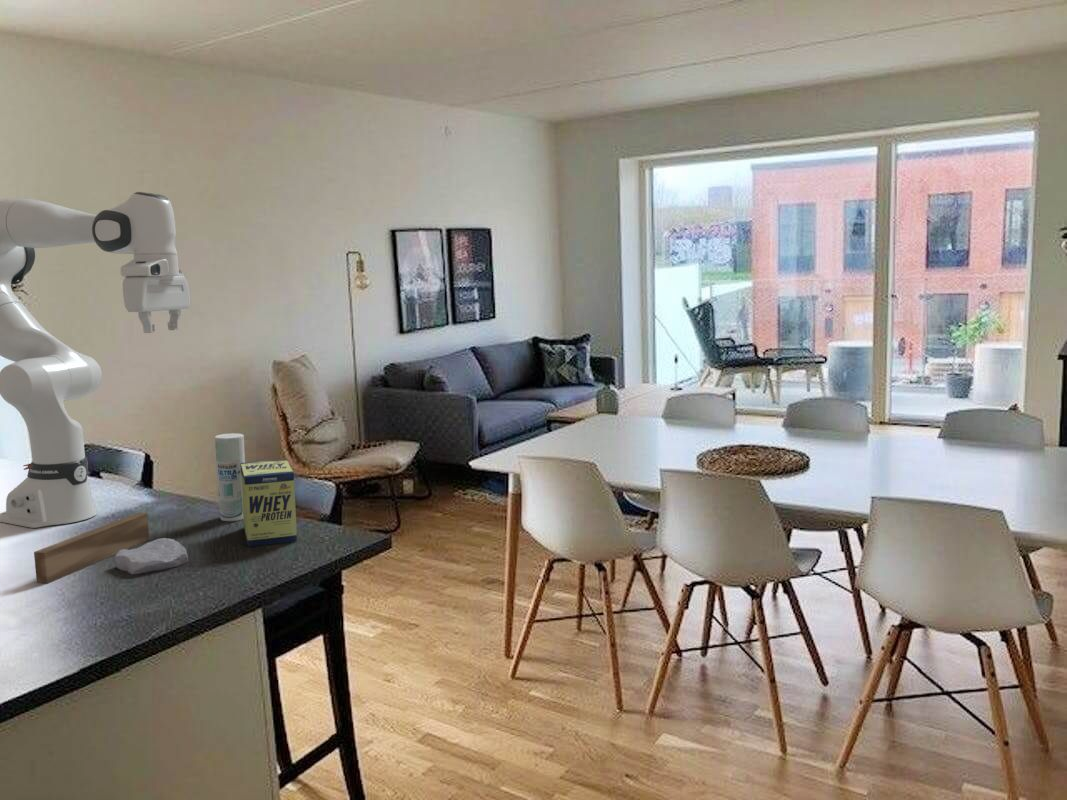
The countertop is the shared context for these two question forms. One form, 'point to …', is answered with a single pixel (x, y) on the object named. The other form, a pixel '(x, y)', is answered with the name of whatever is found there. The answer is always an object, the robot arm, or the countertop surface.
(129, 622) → the countertop surface
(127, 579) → the countertop surface
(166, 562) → the stone block
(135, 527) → the walnut board
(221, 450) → the spray can
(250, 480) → the protein box
